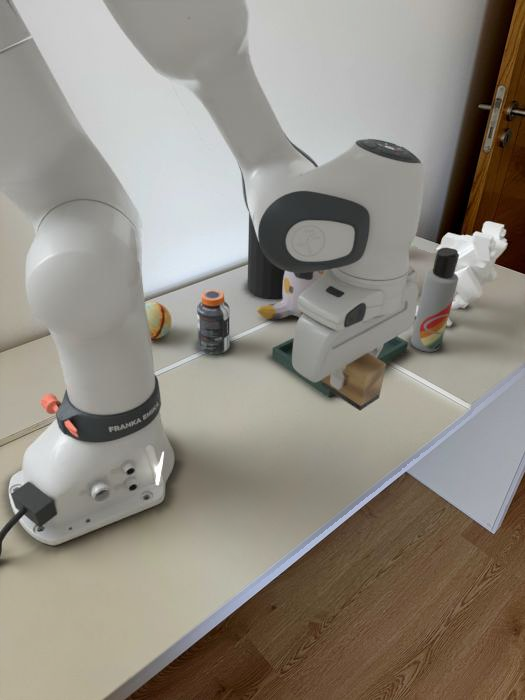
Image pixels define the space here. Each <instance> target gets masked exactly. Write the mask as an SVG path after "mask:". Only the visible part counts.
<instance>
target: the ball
mask: <svg viewBox="0 0 525 700" xmlns="http://www.w3.org/2000/svg"><path fill="white" fill-rule="evenodd" d="M145 307H146V313H147V319H148V325H149V329H150V334H151V340H157V339H161V338H163V337H164V336H165V335H166V334H168V332H169V331H170V329H171V326H172V315H171V313H170V311H169V310H168V308H166V306H165V305H163V304H161V303H158V302H147V303H146V302H145Z"/></svg>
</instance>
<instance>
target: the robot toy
mask: <svg viewBox="0 0 525 700" xmlns="http://www.w3.org/2000/svg"><path fill="white" fill-rule="evenodd" d="M506 235H507V229H506V228H505V224H502V223H498V222H494V221H490V220H488V221H487V220H486V221H485V222H483V224H482V228H481V232H480V231H477V230H476V231H475V232H473V233H472V235H469V234H465V235H464V234H461V235H460V234H456V233H452V232H447V233H446V234H445V235H443V237H442V238H441V241H440V244H439V245H438V246H437V247H436V248H435V250H436V253H437V251H438V250H439V249H441V248H452V249H456V250H457V251H458V254H459V258H458V261H457V265H456V269H455V272H454V273H455V274H456V275H457V276H458V283H457V287H456V290H455V294H454V298H453V302H452V305H451V309H450V311H451V310H458V309H459V308H461V309H466V307H467V306H468V305H469V304H470V303H471V302H472V301H474V300H477V299H479V298H481V296H482V295H483V294H484V291H483V287H484V286H485V284H487V283H490V282H492V281H494V280H495V279H496V278H497V277H498V273H497V270H496V268H495V264H496V261H497V259H498V258H499V257H500V256H501V255H502V254H503V253H504V252H505V250H506V249H507V247H508V244H509V243H508V242H507V241H508V239H506V238H505V236H506ZM418 307H419V305H417V308H416V314H415V318H416V316H417V311H418ZM452 325H453V322H452V321H451V319H450V317H448V320H447V324H446V327H449V328H451V326H452Z"/></svg>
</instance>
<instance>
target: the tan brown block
mask: <svg viewBox="0 0 525 700" xmlns="http://www.w3.org/2000/svg"><path fill="white" fill-rule="evenodd" d="M386 366H387V364H386V363H384V362H382V361H381V360H379V359H377V358H375V357H374V356H372V355H370V354H368V353H367V354H365V355H363V356H362V357H360V358H358V359H356V360H355V361H353V362H351V363H349V364H348V365H346V368H345V369H344V370H342V372H343V373H345V374H346V375H348V381H347V385H346V386H344V387H342V388H341V389H339V390H338V389H336V388H335V387H333V386H332V385H331V384H330V377H331V374H330V375H329V376H327V377H325V378H323V379H322V381H321V385H322V386H323V387H325V388H326V389H328V390H329V391H331V392H332V393H334V395H336V396H337V397H338V398H340V399H342V400H343V401H345V402H346V403H347V404H349V405H350V406H352V407H353V408H355V409H357V410H358V411H362V410H363V409H365V408H367V407H369V405H371V404H373V403H375V402H376V401H377V400H379V399H380V394H381V390H382V385H383V381H384V377H385V371H386Z"/></svg>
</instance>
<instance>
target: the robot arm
mask: <svg viewBox="0 0 525 700" xmlns="http://www.w3.org/2000/svg"><path fill="white" fill-rule="evenodd" d="M102 2H103V4H104V5H105V7H106V8H107V10H108V12H109V13H110V14H111V16H112V18H113V19H114V21H115V22H116V23H117V25H118V27H119V28H120V30H121V31H122V32H123V34H124V35H125V36H126V38H127V39H128V40H129V41H130V43H131V44H132V45H133V46H134V48H135V49H136V50H137V51H138V53H139V54H140V55H141V57H143V59H144V60H145V61H146V62H147V63H148V64H149V65H150V66H151V68H152V69H153V70H154V71H155V72H156V73H157V74H159V75H160V76H162V77H164V78H166V79H168V80H169V81H172V82H174V83H176V84H177V85H179V86H182V87H183V88H184V89H186V90H187V91H188V92H190V93H191V94H192V95H193V96H194V97H195V98H196V99H197V100H198V101H199V102H200V104H201V105H202V106H203V108H204V109H205V110H206V112H207V114H208V115H209V117H210V118H211V120H212V121H213V123H214V125H215V127H216V129H217V130H218V132H219V133H220V136H221V137H222V138H223V140H224V142H225V144H226V145H227V147H228V149H229V150H230V152H231V154H232V155H233V157H234V159H235V160H236V163H237V165H238V168H239V170H240V174H241V175H240V176H241V187H242V195H243V200H244V203H245V207H246V210H247V212H248V214H249V213H250V215H251V218H252V221H253V225H254V228H255V232H256V235H257V238H258V241H259V244H260V247H261V250H262V252H263V253H264V255H265V256H266V258H267V259H268V260H269V261H270V262H271V263H272V264H274V265H275V266H276V267H278V268H280V269H282V270H285V271H288V272H293V273H307V272H315V271H322V270H326V271H325V272H324V273H323V274H322V275H321V276H320V277H319V278H318V279H317V280H316V281H315V282H314V283H313V284H312V285H311V286H309V287H308V288H307V289H306V290H305V291H303V292H302V293H301V294H300V296H299V298H298V309H299V310H300V311H302V312H303V314H302V315H301V316H300V318H299V317H298V320H297V321H296V324H295V328H294V334H293V338H294V341H293V351H292V365H293V367H294V369H295V370H296V371H297V372H298V373H299V374H301V375H302V376H304V377H305V378H307V379H308V380H310V381H312V382H318V381H320V380H322V379H323V378H325V377H327V376H329V375H330V374H331V377H330V384H331V385H332V386H333V387H335V388H336V389H338V390H339V389H341V388H342V387H344V386H346V385H347V381H348V375H346V374H345V373H343V372H342V370H344V369H345V368H346V365H348V364H349V363H351V362H353V361H355V360H356V359H358V358H360V357H362V356H363V355H365V354H367V353H368V354H370V355H372V356H374V357H375V358H377V356H378V355H379V353H380V351H381V350H382V348H383V344H384V343H386V342H388V341H389V340H391V339H393V338H395V337H396V336H397V337H399V336H400V335H402V334H403V333H406V331H409V330H410V328H411V327H412V326H413V325H414V323H415V320H416V317H415V314H416V308H417V306H418V298H419V287H418V285H417V283H416V282H417V281H416V280H417V276H418V272H417V271H416V269H415V268H414V267H413V266H411V265H410V249H411V245H412V243H413V242H414V239H415V238H416V235H417V233H418V229H419V222H420V219H421V213H422V207H423V199H424V189H425V169H424V165H423V163H422V162H421V160H420V159H419V158H418V157H417V156H416V155H415V154H414V153H413V152H412V151H410V150H409V149H407V148H406V147H404V146H400V145H398V144H396V143H394V142H389V141H385V140H381V139H376V138H365V139H358V140H355V141H354V142H353V143H352V145H351V146H350V147H349V148H348V149H346V150H345V151H344V152H342V153H341V154H339V155H337V156H335V157H334V158H333V159H331V160H328V161H327V162H325V163H323V164H320V165H318V164H317V163H316V161H315V160H314V159H313V158H312V157H311V156H310V155H309V154H307V153H306V152H305V151H304V150H302V149H301V148H299V147H298V146H297V145H296V144H294V143H293V142H292V141H291V140H290V139H289V137H288V136H287V135H286V133H285V132H284V130H283V128H282V126H281V124H280V122H279V120H278V118H277V115H276V113H275V112H274V110H273V108H272V106H271V104H270V102H269V100H268V98H267V95H266V93H265V92H264V89H263V87H262V86H261V83H260V82H259V79H258V76H257V74H256V71H255V68H254V65H253V61H252V57H251V52H250V51H251V50H250V40H249V39H250V38H249V35H250V33H249V30H250V10H249V7H248V2H247V0H102ZM31 36H32V34H31V32H30V31H29V28H28V27H27V25H26V24H25V21H24V20H23V18H22V16H21V14H20V12H19V10H18V9H17V8H16V5H15V3H14V1H13V0H0V192H1V193H2V194H4V196H5V197H7V198H8V199H9V201H11V203H12V204H13V205H15V206H16V207H17V208H18V209H19V210H20V211H21V213H22V214H23V215H24V216H25V217H26V219H27V220H28V222H30V224H31V226H32V229H33V231H34V234H35V236H34V238H33V240H32V242H31V245H30V247H29V249H28V252H27V255H26V259H25V270H24V272H25V273H24V274H25V275H24V277H25V279H24V280H25V293H26V298H27V303H28V306H29V308H30V310H31V312H32V314H33V315H34V316H35V318H36V319H37V320H38V321H39V322H40V323H41V324H42V325H43V326H45V327H46V328H47V330H48V332H49V333H50V336H51V338H52V340H53V342H54V345H55V347H56V350H57V354H58V359H59V362H60V363H59V364H60V367H61V371H62V376H63V378H64V384H65V385H64V386H65V391H64V395H63V398H62V400H61V401H60V400H58V398H57V396H56V395H55V394H53V393H47V394H45V395H44V396H43V397H42V398H41V400H40V405H41V407H42V408H43V409H45V411H46V413H47V414H49V415H55V419H54V420H53V422H52V423H50V424H49V426H48V427H47V428H46V429H45V430H44V431H43V432H42V433H41V434H40V435H39V436H38V437H37V438H36V439H35V440H34V441H33V442H32V443H31V444H30V445H29V446H28V447H27V448H26V449H25V451H24V453H23V457H22V465H21V466H22V467H21V470H19V471H17V472H16V473H15V474H13V475H12V476H11V478H10V481H9V484H8V498H9V502H10V506H11V510H12V511H13V512H12V513H14V516H12V517H11V519H9V520H8V521H7V522H6V524H5V525H4V526H3V527H2V528H1V530H0V556H1V555H2V552H3V541H4V539H5V538H6V536H7V534H8V533H9V532H10V530H12V528H13V527H14V526H15V525H16V524H17V523H18V522H19V524H20V525H21V527H22V528H23V529H24V530H25V531H26V533H28V535H29V536H30V537H32V538H34V539H35V540H37V541H38V542H40V543H42V544H46V545H47V546H57V545H60V544H63V543H66V542H69V541H71V540H73V539H76V538H79V537H81V536H83V535H85V534H88V533H90V532H93V531H96V530H98V529H101V528H103V527H105V526H108V525H111V524H113V523H116V522H119V521H121V520H123V519H125V518H128V517H131V516H133V515H136V514H138V513H140V512H143V511H145V510H148V509H150V508H153V507H156V506H157V505H160V504H161V503H163V501H164V500H165V498H166V484H167V481H168V480H169V477H170V476H171V474H172V473H173V469H174V466H175V459H176V458H175V451H174V448H173V446H172V445H171V443H170V441H169V439H168V436H167V434H166V431H165V428H164V424H163V420H162V416H161V412H160V410H161V408H162V407H161V406H162V397H161V391H160V390H161V389H160V384H159V380H158V377H157V375H156V373H155V366H154V365H155V364H154V356H153V346H152V344H153V343H152V339H151V334H150V329H149V325H148V319H147V313H146V307H145V304H146V301H145V293H144V284H143V283H144V282H143V263H142V262H143V248H142V244H143V243H142V240H143V224H142V223H143V222H142V217H141V215H140V212H139V210H138V208H137V206H136V203H135V202H134V200H133V199H132V196H131V195H130V194H129V192H128V191H127V190H126V189H125V187H124V185H123V184H122V183H121V181H120V179H119V178H118V176H117V175H116V173H115V172H114V170H113V169H112V167H111V166H110V164H109V163H108V161H107V160H106V159H105V157H104V156H103V154H102V153H101V151H100V150H99V149H98V148H97V146H96V145H95V143H94V142H93V140H92V139H91V138H90V136H89V135H88V133H87V132H86V130H85V128H84V127H83V125H82V124H81V123H80V121H79V119H78V118H77V116H76V114H75V112H74V111H73V108H72V107H71V105H70V103H69V101H68V100H67V98H66V96H65V94H64V92H63V90H62V88H61V87H60V84H59V83H58V81H57V80H56V77H55V76H54V74H53V72H52V70H51V69H50V66H49V65H48V63H47V61H46V59H45V57H44V55H43V54H42V52H41V50H40V48H39V47H38V45H37V43H36V41H35V39H34V37H31ZM29 37H31V38H29ZM27 38H28V39H27Z"/></svg>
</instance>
